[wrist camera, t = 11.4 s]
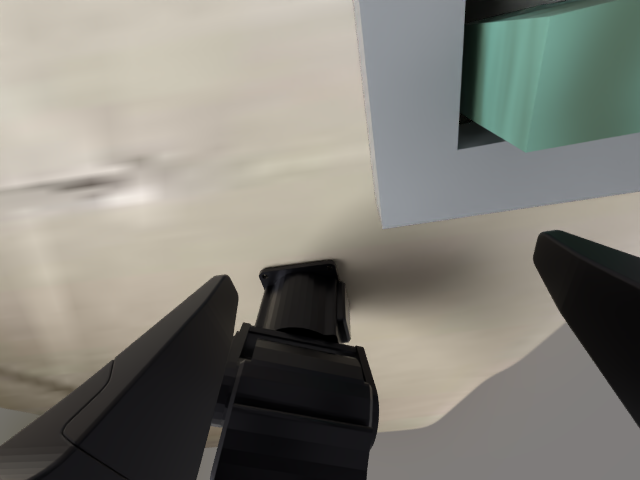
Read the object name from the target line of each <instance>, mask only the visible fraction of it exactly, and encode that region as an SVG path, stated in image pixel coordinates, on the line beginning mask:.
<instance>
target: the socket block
mask: <svg viewBox="0 0 640 480" xmlns="http://www.w3.org/2000/svg"><path fill="white" fill-rule="evenodd" d="M465 1H466V0H353V5H354V14H355V23H356V31H357V40H358V49H359V58H360V67H361V76H362V85H363V94H364V102H365V111H366V120H367V129H368V138H369V147H370V156H371V165H372V174H373V182H374V191H375V199H376V203H377V208H378V212H379V216H380V220H381V224H382V228H383V229H387V228H394V227H401V226H407V225H414V224H421V223H428V222H435V221H442V220H448V219H455V218H462V217H469V216H476V215H483V214H489V213H496V212H503V211H510V210H517V209H524V208H530V207H537V206H544V205H551V204H558V203H565V202H571V201H578V200H585V199H592V198H599V197H606V196H612V195H619V194H626V193H633V192H640V132H639V133H634V134H628V135H622V136H617V137H611V138H605V139H600V140H594V141H589V142H583V143H577V144H572V145H566V146H561V147H555V148H549V149H544V150H538V151H532V152H527V153H525V152H524V151H522V150H520V149H519V148H517V147H516V146H514V145H512V144H511V143H509V142H507V141H506V140H504V139H502V138H501V137H499V136H497V135H496V134H494V133H492V132H491V131H489V130H487V129H486V128H484V127H482V126H481V125H479V124H478V123H476V122H470V123H465V124H460V125H459V111H460V92H461V74H462V56H463V38H464V19H465ZM565 1H568V0H565Z"/></svg>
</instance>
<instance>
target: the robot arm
mask: <svg viewBox="0 0 640 480" xmlns="http://www.w3.org/2000/svg"><path fill="white" fill-rule="evenodd" d="M533 261H534V264H535V267H536V268H537V270H538V272H539V274H540V276H541V278H542V280H543V282H544V284H545V285H546V287H547V289H548V291H549V293H550V295H551V297H552V299H553V301H554V302H555V304H556V306H557V308H558V310H559V311H560V313H561V314H562V316H563V317H564V319H565V321H566V322H567V323H568V325H569V326H570V328H571V329H572V331H573V332H574V334H575V335H576V337H577V338H578V339H579V341H580V342H581V344H582V345H583V347H584V348H585V350H586V351H587V353H588V354H589V355H590V357H591V358H592V360H593V361H594V363H595V364H596V366H597V367H598V368H599V370H600V371H601V373H602V374H603V376H604V377H605V379H606V380H607V382H608V383H609V385H610V386H611V387H612V389H613V390H614V392H615V393H616V395H617V396H618V398H619V399H620V400H621V402H622V403H623V405H624V406H625V408H626V409H627V411H628V412H629V414H630V415H631V416H632V418H633V419H634V421H635V422H636V424H637V425H638V427H639V428H640V258H639V257H636V256H633V255H630V254H628V253H625V252H622V251H619V250H616V249H613V248H610V247H607V246H604V245H601V244H598V243H595V242H593V241H590V240H587V239H584V238H581V237H578V236H575V235H572V234H569V233H566V232H563V231H560V230H553V231H545V232H542V233H540V234H539V236H538V239H537V243H536V247H535V251H534V255H533ZM327 266H332V267H331V268H329V267H327ZM264 274H265V275H267V276H265V275H264ZM259 278H260V280H261V283H262V285H263V287H264V290H265V291H264V295H263V299H262V302H261V306H260V309H259V313H258V316H257V320H256V323H255V326H252V325H251V324H249V323H244V322H243V324H242V327H241V329H240V332H239V331H237V332H236V335H235V336H233V333H234V327H235V320H236V313H237V306H238V293H237V291H236V289H235V287H234V285H233V283H232V281H231V279H230V277H229V276H228V275H217V276H214V277H213V278H211V279H210V280H209V281H208V282H206V283H205V284H204V285H203V286H202V287H200V288H199V289H198V290H197V291H196V292H194V293H193V294H192V295H191V296H189V297H188V298H187V299H186V300H185V301H183V302H182V303H181V304H180V305H178V306H177V307H176V308H175V309H174V310H172V311H171V312H170V313H169V314H168V315H166V316H165V317H164V318H163V319H161V320H160V321H159V322H158V323H157V324H155V325H154V326H153V327H152V328H150V329H149V330H148V331H147V332H146V333H144V334H143V335H142V336H141V337H140V338H138V339H137V340H136V341H135V342H133V343H132V344H131V345H130V346H129V347H127V348H126V349H125V350H124V351H122V352H121V353H120V354H119V355H118V356H116V357H115V359H114V360H111V361H110V362H109V363H108V364H107V365H105V366H104V367H103V368H102V369H101V370H99V371H98V372H97V373H96V374H94V375H93V376H92V377H91V378H89V379H88V380H87V381H86V382H84V383H83V384H82V385H81V386H79V387H78V388H77V389H75V390H74V391H73V392H71V393H70V394H69V395H67V396H66V397H65V398H64V399H62V400H61V401H60V402H58V403H57V404H56V405H54V406H53V407H52V408H50V409H49V410H48V411H46V412H45V413H44V414H42V415H41V416H40V417H38V418H37V419H36V420H34V421H33V422H32V423H30V424H29V425H27V426H26V427H25V428H23V429H22V430H21V431H19V432H18V433H17V434H15V435H14V436H13V437H11V438H10V439H9V440H7V441H6V442H5V443H3V444H2V445H1V446H0V480H196V478H197V475H198V471H199V467H200V463H201V460H202V456H203V452H204V448H205V444H206V441H207V437H208V433H209V429H210V425H211V426H215V427H223V429H222V432H221V436H220V440H219V444H218V448H217V452H216V456H215V459H214V463H213V467H212V471H211V476H210V480H366V479H367V467H368V459H369V451H370V449H371V448H372V446H373V444H374V441H375V438H376V434H377V429H378V422H379V401H378V394H377V390H376V386H375V383H374V380H373V377H372V373H371V370H370V367H369V364H368V360H367V357H366V354H365V351H364V348H363V347H361V346H355V347H354V346H349V345H344V344H343V343H347V342H349V341H350V340H351V334H350V313H349V300H348V296H347V291H346V287H345V283H344V282H343V281H339V276H338V272H337V268H336V264H335V262H333V261H330V260H328V261H321V262H313V263H306V264H299V265H291V266H284V267H276V268H269V269H263V270H261V271H260V274H259Z"/></svg>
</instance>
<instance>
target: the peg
mask: <svg viewBox="0 0 640 480" xmlns="http://www.w3.org/2000/svg"><path fill="white" fill-rule="evenodd" d="M459 113H461V114H463V115H464V116H466V117H468V118H469V119H471V120H473V121H474V122H476V123H478V124H479V125H481V126H482V127H484V128H486V129H487V130H489V131H491V132H492V133H494V134H496V135H497V136H499V137H501V138H502V139H504V140H506V141H507V142H509V143H511V144H512V145H514V146H516V147H517V148H519V149H520V150H522V151H524V152H525V153H527V152H532V151H538V150H544V149H549V148H555V147H561V146H566V145H572V144H577V143H583V142H589V141H594V140H600V139H605V138H611V137H617V136H622V135H628V134H634V133H639V132H640V0H568V1H561V2H555V3H549V4H543V5H539V6H535V7H530V8H526V9H522V10H518V11H514V12H510V13H506V14H502V15H498V16H494V17H490V18H486V19H482V20H478V21H474V22H470V23H466V24H464V38H463V56H462V74H461V92H460V111H459Z"/></svg>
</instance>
